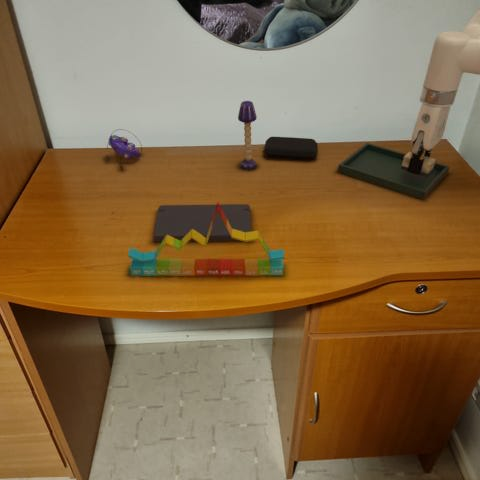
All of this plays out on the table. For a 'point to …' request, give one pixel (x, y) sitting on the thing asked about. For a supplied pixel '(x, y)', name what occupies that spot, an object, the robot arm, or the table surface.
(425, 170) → the wooden block
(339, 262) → the table surface
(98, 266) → the table surface
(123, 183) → the table surface
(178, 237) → the notebook
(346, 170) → the tray
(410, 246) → the table surface
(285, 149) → the carrying case
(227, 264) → the chart
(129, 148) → the purple ringed ornament
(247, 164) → the toy lamp
